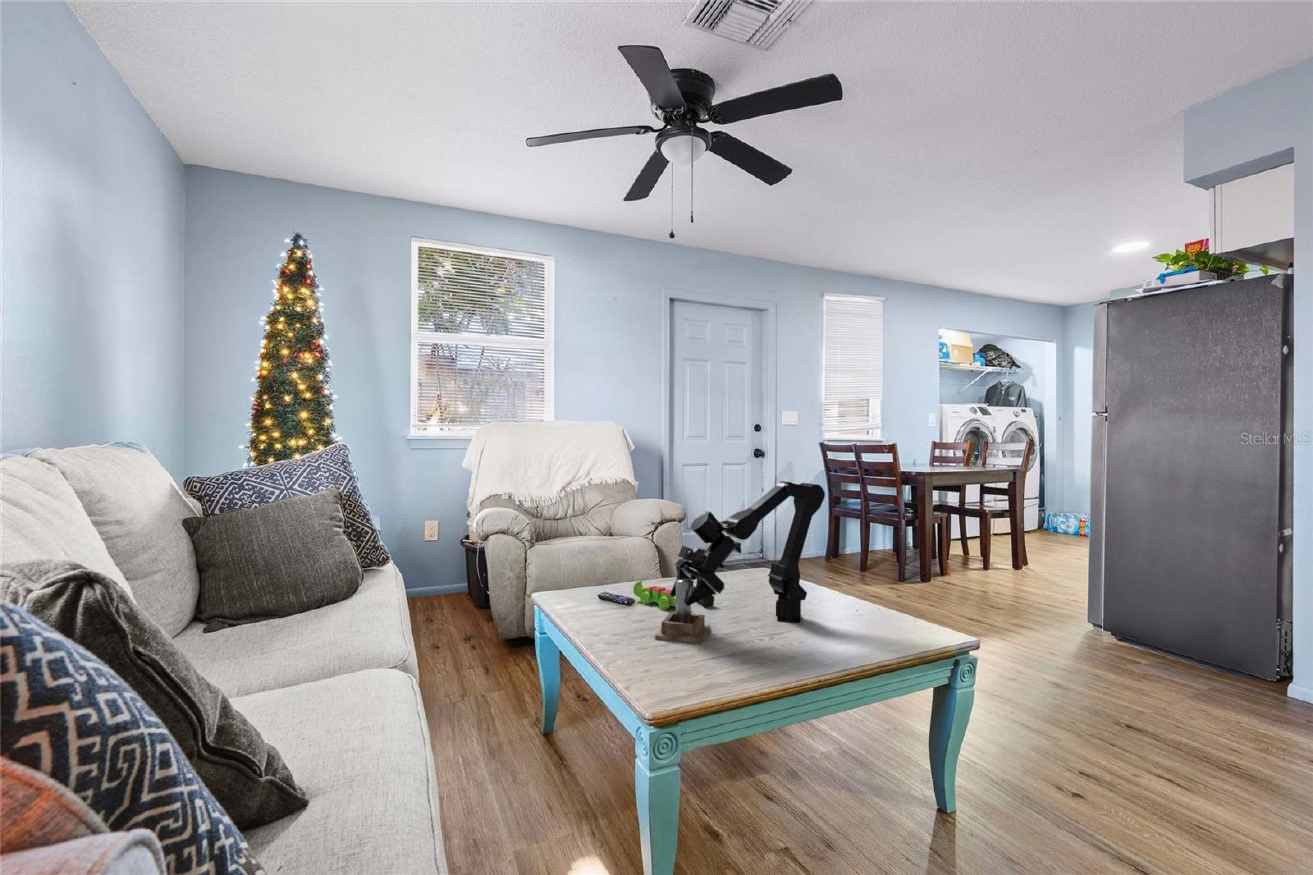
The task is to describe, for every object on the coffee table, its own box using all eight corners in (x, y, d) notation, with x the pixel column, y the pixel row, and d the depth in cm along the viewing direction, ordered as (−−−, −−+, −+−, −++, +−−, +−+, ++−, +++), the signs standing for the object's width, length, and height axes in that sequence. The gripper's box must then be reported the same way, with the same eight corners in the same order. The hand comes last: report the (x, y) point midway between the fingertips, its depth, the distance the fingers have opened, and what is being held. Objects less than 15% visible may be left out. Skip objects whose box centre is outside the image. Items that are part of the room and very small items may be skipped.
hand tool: (715, 607, 182) (715, 592, 182) (703, 608, 181) (703, 593, 181) (689, 592, 200) (690, 578, 200) (678, 593, 198) (679, 579, 198)
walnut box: (710, 628, 161) (710, 613, 161) (701, 643, 150) (701, 627, 150) (667, 624, 165) (667, 610, 165) (655, 639, 153) (655, 623, 153)
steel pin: (694, 629, 158) (693, 580, 158) (685, 633, 154) (685, 583, 154) (681, 626, 160) (681, 577, 160) (673, 630, 157) (672, 581, 157)
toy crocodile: (692, 609, 179) (692, 589, 179) (677, 614, 174) (677, 593, 174) (644, 597, 193) (645, 578, 193) (630, 601, 188) (630, 581, 188)
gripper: (682, 529, 167) (645, 572, 163) (713, 540, 150) (673, 589, 146) (706, 555, 170) (671, 598, 166) (741, 569, 153) (702, 617, 149)
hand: (678, 600), depth 157 cm, fingers open, 9 cm apart
